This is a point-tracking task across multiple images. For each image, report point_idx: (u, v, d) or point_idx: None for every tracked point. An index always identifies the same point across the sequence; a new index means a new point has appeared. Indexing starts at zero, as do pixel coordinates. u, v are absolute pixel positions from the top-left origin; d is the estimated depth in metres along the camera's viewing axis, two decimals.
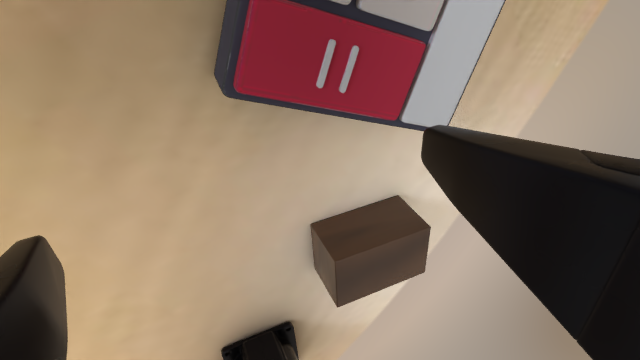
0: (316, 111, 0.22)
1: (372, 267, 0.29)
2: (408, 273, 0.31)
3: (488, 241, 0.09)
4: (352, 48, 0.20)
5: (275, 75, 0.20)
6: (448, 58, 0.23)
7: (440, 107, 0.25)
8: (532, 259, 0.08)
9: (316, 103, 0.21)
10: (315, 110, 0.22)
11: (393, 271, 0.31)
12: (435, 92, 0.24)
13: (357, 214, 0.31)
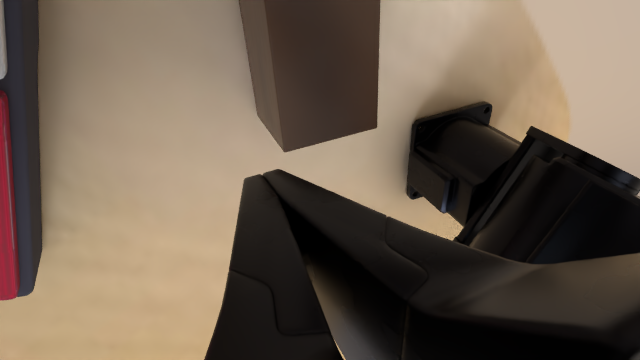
0: (27, 206, 0.16)
1: (318, 82, 0.17)
2: None
3: None
4: None
5: None
6: None
7: None
8: (347, 340, 0.07)
9: (5, 223, 0.16)
10: (25, 208, 0.16)
11: (345, 33, 0.17)
12: None
13: (249, 50, 0.19)
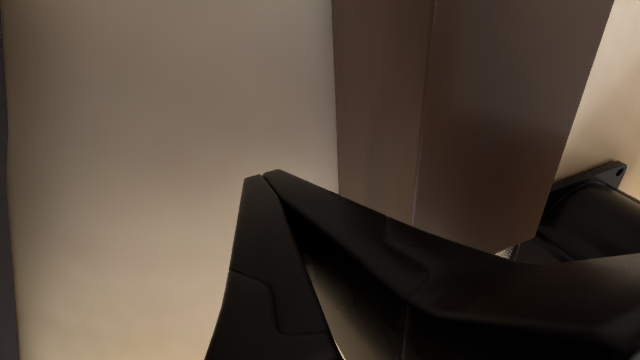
0: None
1: (476, 189, 0.10)
2: (577, 49, 0.09)
3: None
4: None
5: None
6: None
7: None
8: (347, 340, 0.07)
9: None
10: None
11: (534, 112, 0.10)
12: None
13: (344, 122, 0.12)
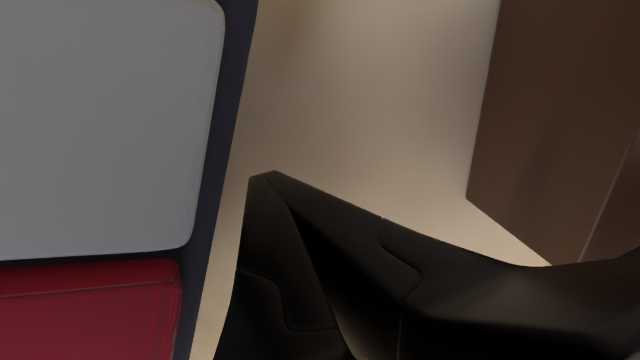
0: None
1: None
2: None
3: None
4: None
5: None
6: None
7: (90, 92, 0.04)
8: None
9: None
10: None
11: None
12: (1, 153, 0.04)
13: (497, 113, 0.12)
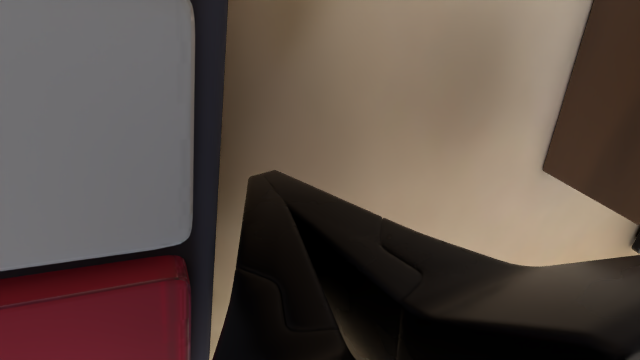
0: None
1: None
2: None
3: None
4: None
5: None
6: None
7: (66, 98, 0.04)
8: None
9: None
10: None
11: None
12: None
13: (585, 87, 0.14)
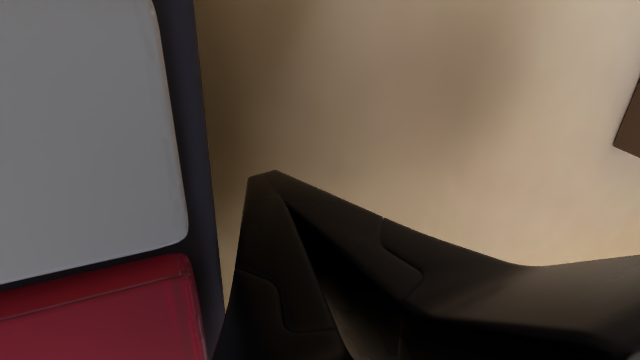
0: None
1: None
2: None
3: None
4: None
5: None
6: None
7: (36, 109, 0.04)
8: (343, 341, 0.07)
9: None
10: None
11: None
12: None
13: None
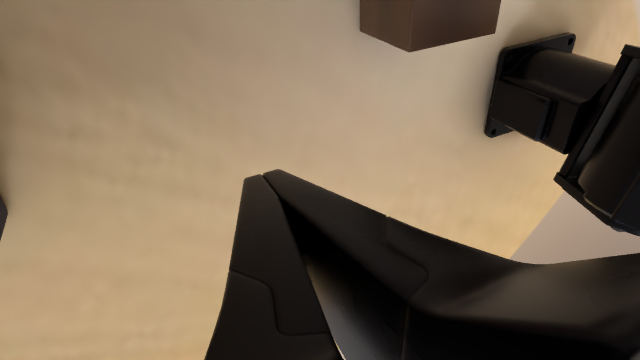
0: None
1: None
2: None
3: None
4: None
5: None
6: None
7: None
8: (347, 340, 0.07)
9: None
10: None
11: None
12: None
13: None
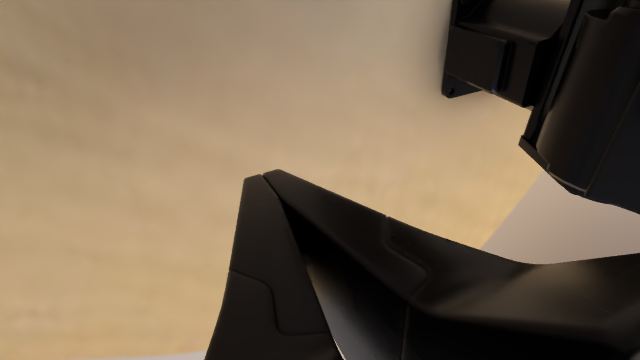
0: None
1: None
2: None
3: None
4: None
5: None
6: None
7: None
8: (347, 339, 0.07)
9: None
10: None
11: None
12: None
13: None
